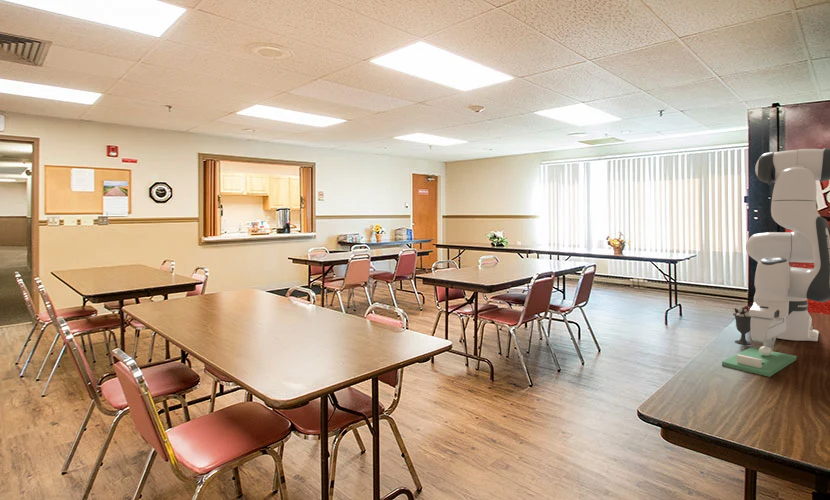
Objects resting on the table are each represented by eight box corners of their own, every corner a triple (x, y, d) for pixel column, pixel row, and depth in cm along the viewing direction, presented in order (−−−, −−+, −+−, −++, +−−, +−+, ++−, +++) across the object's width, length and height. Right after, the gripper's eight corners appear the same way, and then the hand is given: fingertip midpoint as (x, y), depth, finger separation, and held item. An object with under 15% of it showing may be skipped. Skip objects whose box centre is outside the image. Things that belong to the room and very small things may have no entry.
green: (751, 350, 151) (751, 340, 151) (796, 359, 141) (797, 348, 141) (722, 365, 137) (722, 354, 137) (769, 376, 127) (770, 364, 127)
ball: (761, 347, 144) (759, 343, 142) (774, 349, 141) (771, 345, 140) (759, 356, 143) (756, 352, 141) (771, 358, 141) (768, 355, 139)
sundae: (758, 345, 156) (760, 303, 154) (737, 345, 157) (739, 303, 156) (748, 340, 162) (750, 300, 161) (728, 339, 163) (730, 299, 162)
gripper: (770, 302, 151) (768, 342, 152) (746, 311, 139) (744, 354, 140) (793, 305, 145) (791, 346, 147) (771, 314, 134) (769, 359, 135)
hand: (768, 350), depth 143 cm, fingers closed
